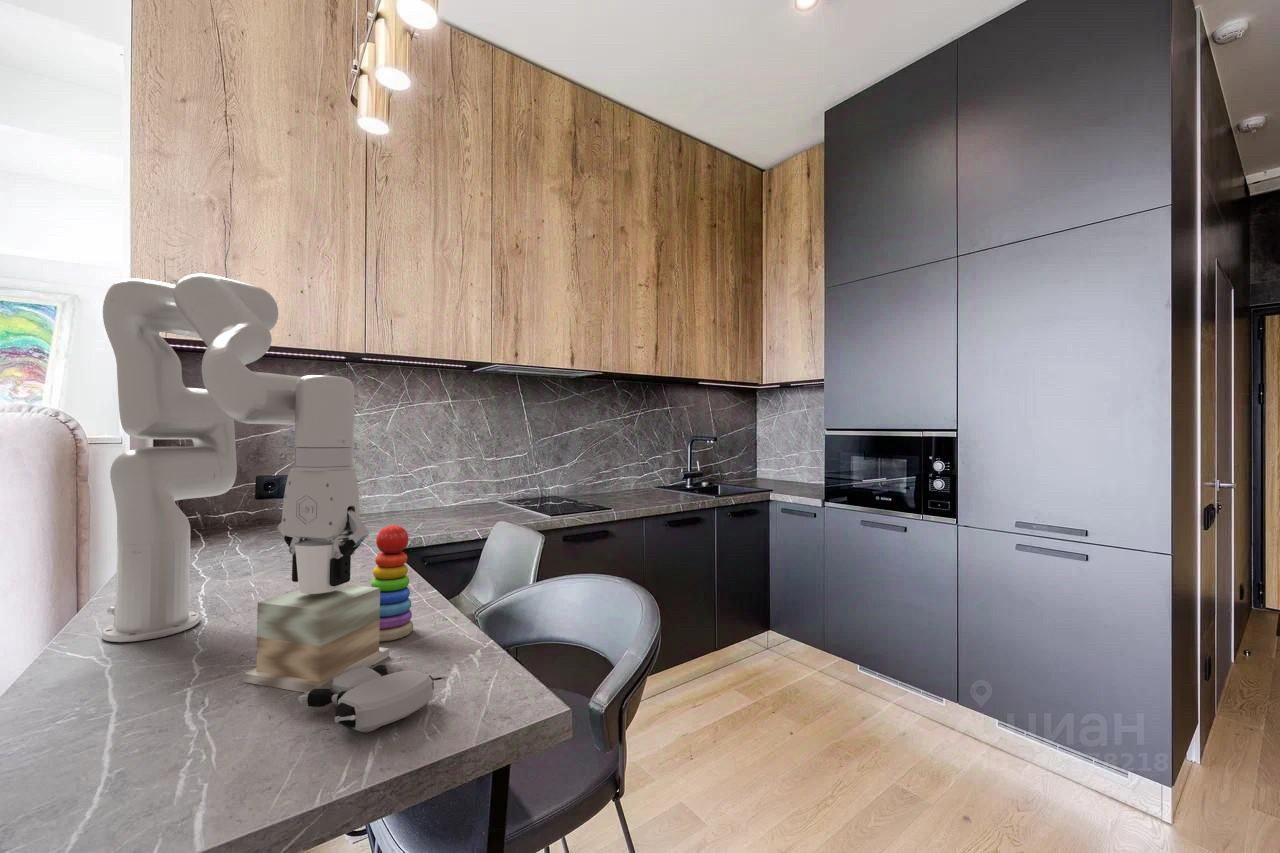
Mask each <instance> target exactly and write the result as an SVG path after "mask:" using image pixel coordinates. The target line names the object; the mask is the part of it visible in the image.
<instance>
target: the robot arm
mask: <svg viewBox="0 0 1280 853" xmlns="http://www.w3.org/2000/svg"><path fill="white" fill-rule="evenodd" d="M102 319H103V320H102V321H103V326H104V328H105V332H106V335H107V337H108V341H109V343H110V345H111V348H112V350H113V354H114V358H115V361H116V362H115V363H116V377H117V378H116V380H117V382H116V383H117V397H118V410H119V419H120V424H121V426H122V430H123V431H124V432H125V434H126V435H128V436H130V437H133V438H135V439H136V438H137V439H140V440H141V439H143V440H191V441H192V443H193V446H179V445H178V446H176V445H175V446H146V447H140V448H139V447H138V448H134V449H129V450H127V451H125V452H123V453H121V454H119V455H118V456H117V457H116V458H115V459H114V461H112V464H111V466H110V473H109V474H110V475H109V476H110V477H109V478H110V483H111V488H112V492H113V496H114V497H113V498H114V502H115V510H116V530H117V532H116V544H117V545H116V576H115V578H116V583H115V584H116V585H115V604H113V606H110V607H109V608H107V611H106V612H107V614H108V615H109V616H110V615H111V616H113V623H112V624H110V625H107V626H106V627H105V628H104V629H103V630H102V632H101V638H102V639H103V640H104V641H107V642H110V643H112V642H113V643H130V642H140V641H146V640H154V639H158V638H159V639H160V638H163V637H164V638H165V637H167V636H170V635H175V634H178V633H181V632H184V631H187V630H189V629H191V628H193V627H195V626H197V625H198V623H200V618H201V617H200V616H201V614H200V613H198V612H195V611H192V610H191V611H190V579H191V578H190V577H191V576H190V575H191V574H190V569H191V568H190V567H191V566H190V565H191V524H190V521H189V519H188V517H187V516H186V514H185V513H184V512H183V511H182V510H181V509H180V507H178V505H177V504H176V501H180V500H181V501H182V500H189V499H200V498H207V497H215V496H216V497H217V496H220V495H223V494H226V493H227V492H229V491H230V489H232V487H233V486H234V484H235V482H236V479H237V473H238V472H237V469H238V468H237V466H238V465H237V464H238V462H237V448H236V434H235V432H236V431H235V421H236V422H239V423H243V424H247V425H251V424H252V425H287V426H294V442H293V443H294V446H293V448H294V449H293V450H294V451H293V453H292V458H293V468H290V469H289V472H288V474H287V478H286V483H285V488H284V493H283V494H284V495H283V500H282V502H283V503H282V513H281V522H280V523H279V524H278V525H277V530H278V532H279V533H280V534H281V536H282V537H283V539H284V540H283V541H284V542H285V543H286V545H287V547H288V552H289V554H290V555H292V560H291V561H292V562H291V564H292V565H291V568H292V569H291V581H292V582H293V583H298V573H297V562H296V551H295V543H296V542H300V541H303V540H307V539H317V540H329V541H330V544H332V551H333V554H334V557H335V558H332V559H331V560H330V586H337V585H340V584H347V583H349V582H350V580H351V567H352V566H351V563H352V559H351V557H352V556H353V555H355V553H356V550H357V549H359V548H360V546H361V543H363V542H364V540H366V538H367V537H368V536H369V535H370V533H369V532H370V531H369V530H368V529H367V527H366V526H365V524H364V523H363V522H362V520H361V518H360V496H359V495H360V494H359V485H358V479H357V472H356V469H355V468H353V465H354V464H353V463H354V426H355V424H354V421H355V386H354V383H353V382H352V380H350V379H349V378H346V377H343V376H336V375H327V374H326V375H325V374H323V375H321V374H319V375H317V374H309V375H303V376H297V375H289V374H282V373H281V374H279V373H272V372H259V371H252V370H250V369H249V368H248V367H247V366H246V365H249V364H251V363H252V364H253V363H254V362H256V361H257V360H259V359H261V358H263V356H265V354H266V353H267V352H268V351H269V349H270V347H271V345H272V334H271V330H273V328H274V327H275V326H276V324H277V323H278V322H277V321H278V320H279V308H278V304H277V302H276V300H275V299H274V297H273V296H272V295H271V293H270V292H269V291H267V290H265V289H264V288H262V287H260V286H258V285H257V286H256V285H254V284H249V283H246V282H242V281H239V280H234V279H229V278H226V277H223V276H218V275H213V274H208V273H194V274H189V275H186V276H184V277H182V278H181V279H179V280H178V281H177V282H176V284H172V283H167V282H163V281H156V280H151V279H144V278H143V279H142V278H125V279H121V280H118V281H117V282H114V283H113V284H112V285H111V286H110V287H109V288H108V290H107V292H106V295H105V296H104V300H103V305H102ZM160 333H167V334H172V335H176V336H177V335H179V336H187V337H192V338H198V339H201V340H202V341H203V343H204V344H205V345H206V347H207V348H206V350H205V352H204V353H203V357H202V361H201V376H202V377H201V378H202V382H203V385H204V388H195V387H186V386H185V384H184V382H183V376H182V375H183V374H182V371H183V370H182V363H181V359H180V357H179V356H178V354H177V353H176V352H175V350H174V348H173V347H172V346H171V345H170V344H169V343H168V342H167V341H166V339H164V338H163V337H162V336H161V335H160ZM340 540H342V541H344V542H345V543H344V545H343V546H342V547H341V544H340Z"/></svg>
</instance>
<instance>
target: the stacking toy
mask: <svg viewBox="0 0 1280 853" xmlns="http://www.w3.org/2000/svg"><path fill="white" fill-rule="evenodd" d="M375 540H376V541H375V542H376V547H377V548H378V550H379V551H380V552H381V553H379V554H377V555H376V557H375V560H374V562H375V564H376V566H375V567H374V568H373V570H372V575H373V577H374V578H373V579H371V581H370V582H371V584H370V585H371V586H370V587H376V588H380V629H379V642H390V641H396V640H399V638H400V639H402V638H404V636H405V637H406V635H407V636H408V635H409V634H411V632H412V631H413V629H414V623H413V621H412V616H413V613H412V610H411V608H412V600H411V598H409V597H410V595H411V591H410V588H409V587H408V586H409V584H410V578H409V576H408V575H407V574H408V571H409V569H408V566H407V565H406V563H407V562H408V555H407V554H406V552H403V551H404V550H405V549H406V547H407V545H408V542H409V534H408V532H407V530H406V529H405V528H404V527H403V526H401V525H398V524H397V525H395V524H391V525H386V526H385V527H383V528H382V529H380V530H379V532H378V533H377V535H376V538H375Z"/></svg>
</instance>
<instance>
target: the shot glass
mask: <svg viewBox="0 0 1280 853" xmlns="http://www.w3.org/2000/svg"><path fill="white" fill-rule="evenodd" d="M344 543H345V542H344V541H342V540H340V544H341V547H342V546H343V545H344ZM295 551H296V562H297V573H298V582H297V583H298V589H299V592H301V593H304V594H318V593H326V592H331V591H335V590H338V589H340V588H342V587H343V584H344V583H343V584H340V585H337V586H330V560H331V559H332V558H335V557H334V554H333V551H332V544H330V541H329V540H317V539H307V540H304V539H303V541H300V542H296V543H295Z"/></svg>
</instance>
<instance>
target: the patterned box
mask: <svg viewBox="0 0 1280 853" xmlns="http://www.w3.org/2000/svg"><path fill="white" fill-rule="evenodd" d="M256 610H257V611H256V612H257V614H256V615H257V616H256V618H257V620H256V622H257V623H256V624H257V626H256V662H255V666H256V667H255V668H252V669H251V670H248V671H246V672H244V673H243V683H247V684H253V685H260V686H265V687H269V688H270V687H271V688H277V689H281V690H282V689H283V690H288V691H294V692H301V693H303V694H304V693H306V692H310V691H311V690H313V689H330V690H332V689H333V686H332V683H333V678H334V677H336V676H337V677H338V676H340V675H341V674H343V673H345V672H348V671H350V670H354V669H357V668H363V667H368V668H371V667H373V666H374V665H376V664H379V662H382V661H384V660H385V659H387V658H389V657H390V648H389V647H388V648H386V647H380V641H379V629H380V588H376V587H372V586H368V585H367V586H366V585H358V584H357V585H355V584H348V583H343V587H342V588H340V589H338V590H335V591H331V592H326V593H318V594H304V593H301V592H299V588H298V589H295V590H292V591H289V592H286V593H282V594H280V595H277V596H274V597H271V598H268V599H264V600H261V601H258V602H257V609H256ZM372 665H373V666H372Z"/></svg>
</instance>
